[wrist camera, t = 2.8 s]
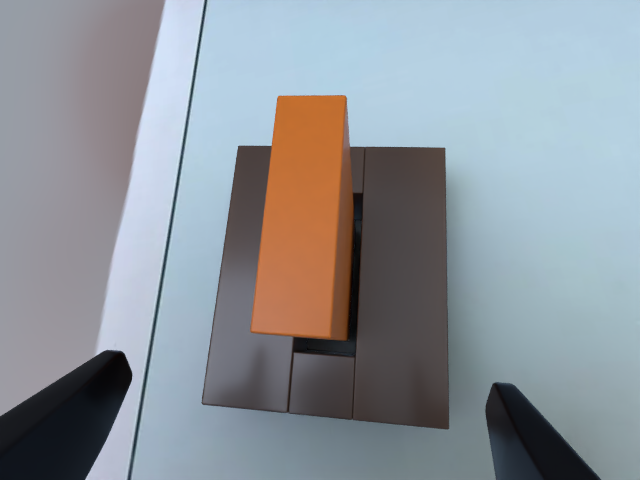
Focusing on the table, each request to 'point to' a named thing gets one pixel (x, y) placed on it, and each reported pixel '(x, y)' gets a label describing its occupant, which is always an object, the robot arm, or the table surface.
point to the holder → (373, 302)
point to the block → (307, 223)
